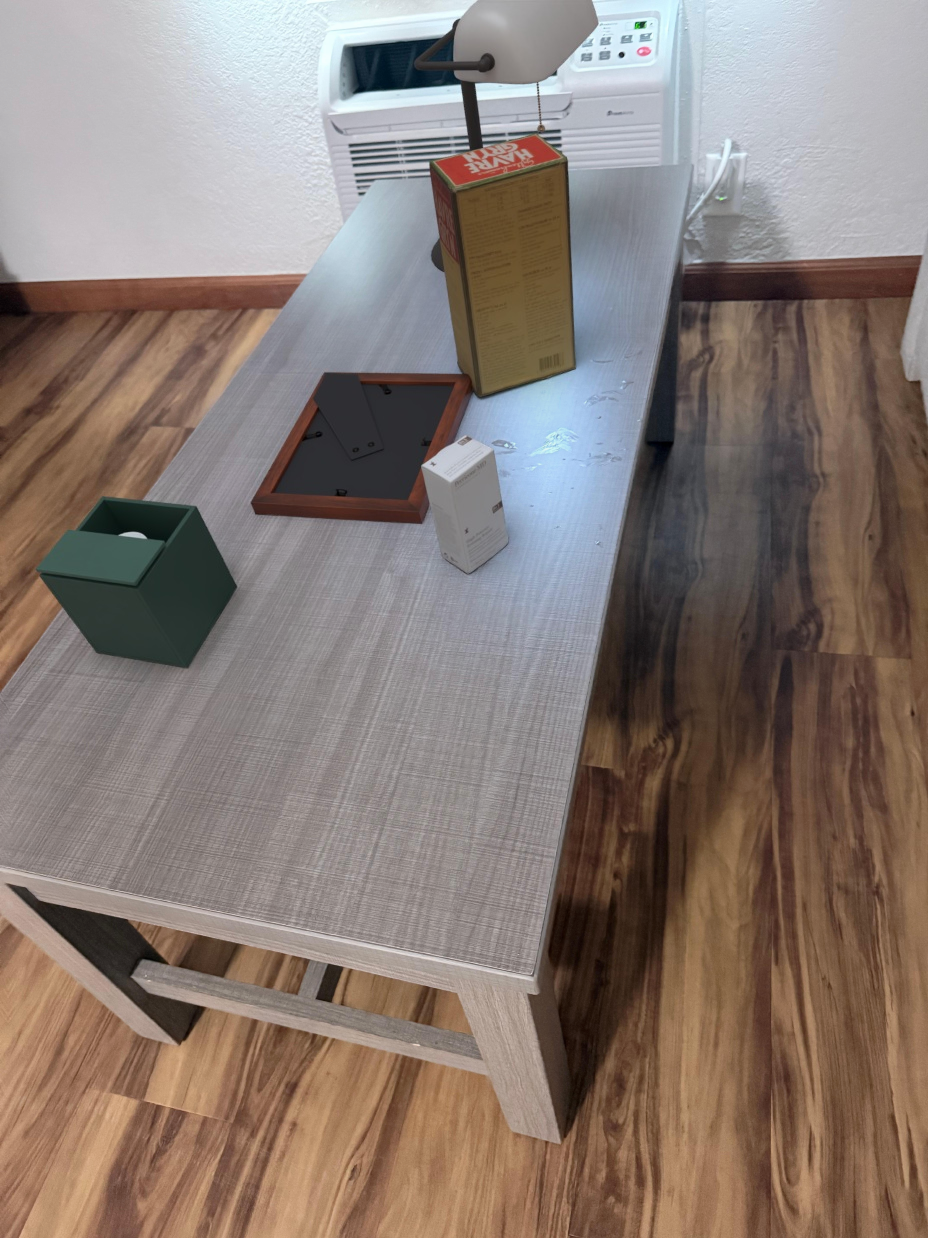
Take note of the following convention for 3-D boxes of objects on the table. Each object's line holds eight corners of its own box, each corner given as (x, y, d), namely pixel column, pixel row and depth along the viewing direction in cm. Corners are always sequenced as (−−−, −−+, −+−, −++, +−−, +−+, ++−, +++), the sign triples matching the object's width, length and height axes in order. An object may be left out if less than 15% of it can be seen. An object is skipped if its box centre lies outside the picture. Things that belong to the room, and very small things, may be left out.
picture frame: (327, 383, 116) (255, 513, 101) (323, 370, 114) (249, 500, 99) (474, 385, 111) (422, 523, 95) (472, 371, 109) (418, 510, 94)
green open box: (187, 668, 87) (138, 589, 78) (96, 652, 90) (38, 575, 81) (237, 586, 93) (196, 505, 85) (150, 575, 97) (102, 495, 88)
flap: (136, 585, 78) (134, 582, 78) (37, 572, 81) (35, 569, 81) (166, 543, 81) (164, 540, 81) (69, 532, 84) (67, 529, 84)
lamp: (551, 302, 120) (528, 14, 95) (397, 286, 130) (338, 20, 104) (615, 210, 135) (610, -61, 109) (472, 202, 144) (437, -51, 119)
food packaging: (550, 333, 116) (539, 128, 97) (579, 368, 109) (573, 157, 91) (454, 361, 114) (424, 158, 95) (478, 399, 108) (451, 190, 89)
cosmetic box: (469, 576, 89) (450, 484, 80) (439, 556, 92) (417, 465, 82) (511, 541, 91) (497, 449, 82) (481, 523, 94) (464, 431, 85)
